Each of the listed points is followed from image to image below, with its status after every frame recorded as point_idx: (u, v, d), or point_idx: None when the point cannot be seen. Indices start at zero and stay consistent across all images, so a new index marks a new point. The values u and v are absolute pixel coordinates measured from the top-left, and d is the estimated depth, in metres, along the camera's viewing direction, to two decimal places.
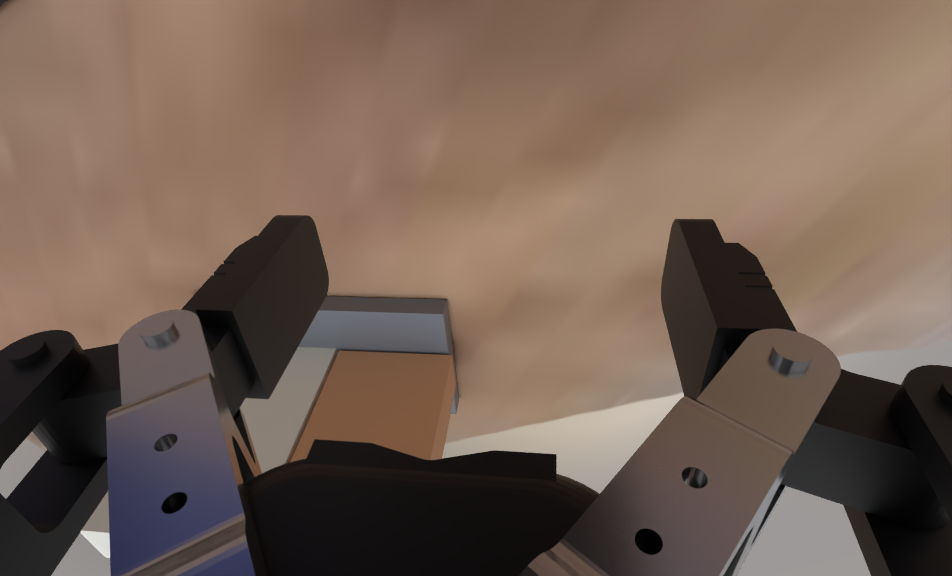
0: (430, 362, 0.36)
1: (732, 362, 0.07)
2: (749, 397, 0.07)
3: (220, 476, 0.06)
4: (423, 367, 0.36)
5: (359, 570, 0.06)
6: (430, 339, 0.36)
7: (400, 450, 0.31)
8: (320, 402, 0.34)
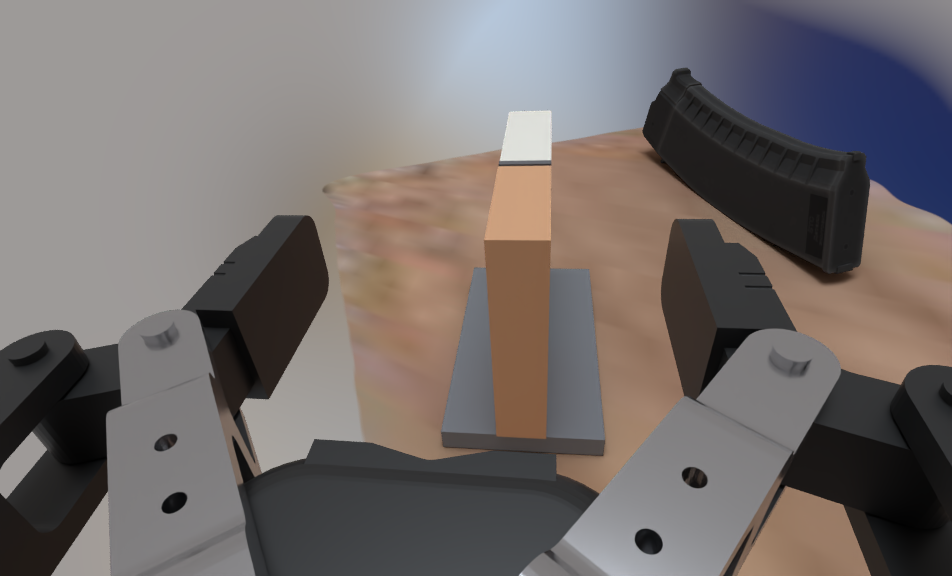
0: None
1: (732, 362, 0.07)
2: (749, 397, 0.07)
3: (220, 476, 0.06)
4: None
5: (358, 571, 0.06)
6: (565, 423, 0.34)
7: None
8: None
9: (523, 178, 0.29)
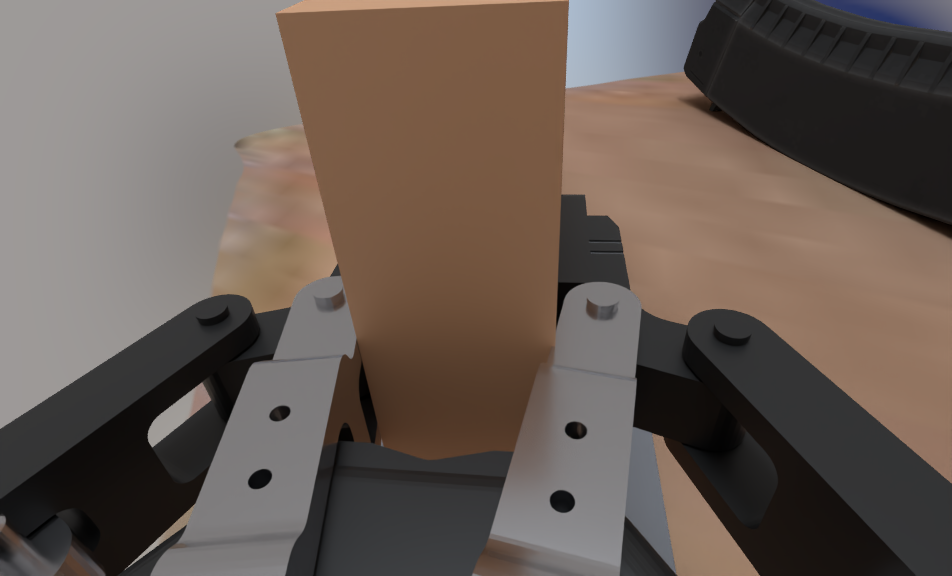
0: None
1: None
2: None
3: (305, 470, 0.06)
4: None
5: (359, 571, 0.06)
6: None
7: None
8: None
9: None
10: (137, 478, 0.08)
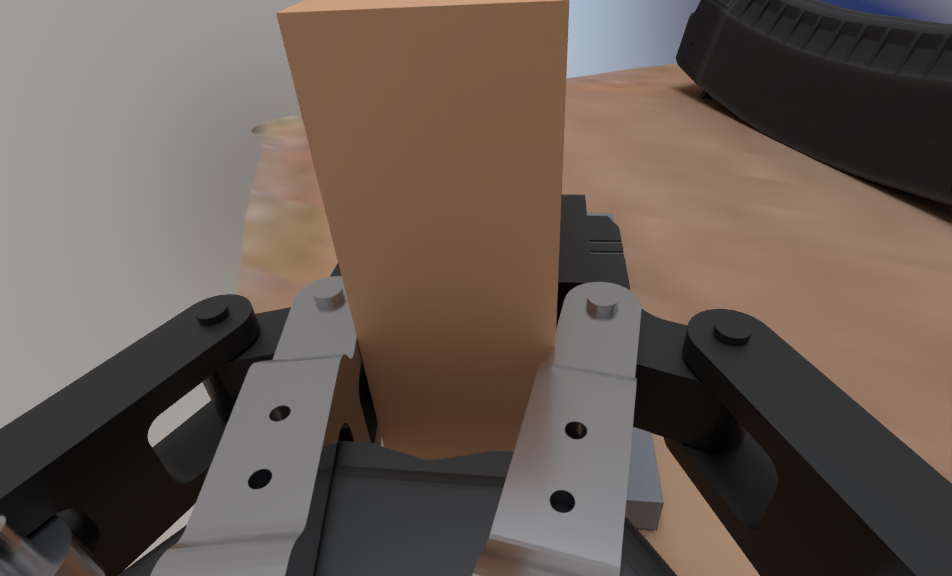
0: None
1: None
2: None
3: (305, 470, 0.06)
4: None
5: (359, 571, 0.06)
6: None
7: None
8: None
9: None
10: (137, 478, 0.08)
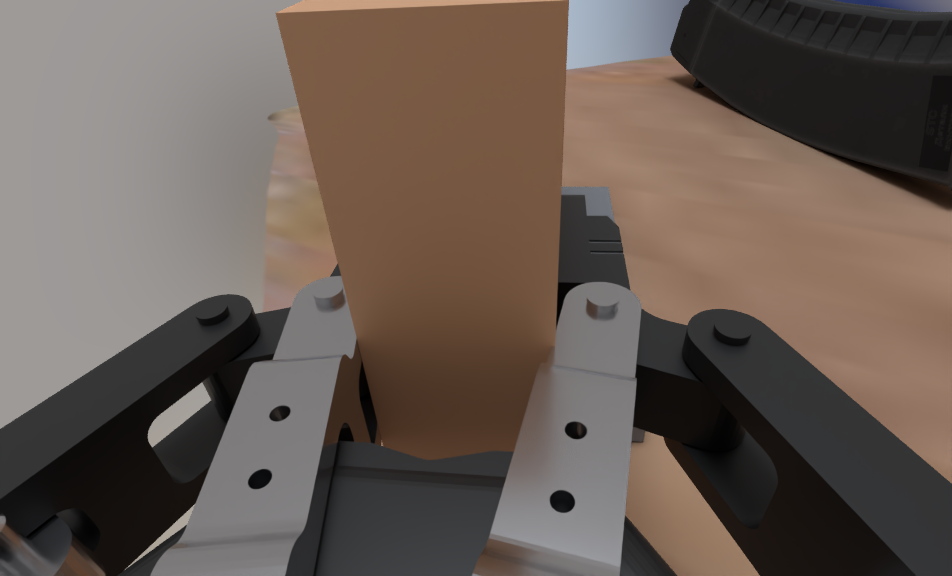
0: None
1: None
2: None
3: (305, 470, 0.06)
4: None
5: (360, 571, 0.06)
6: None
7: None
8: None
9: None
10: (137, 478, 0.08)
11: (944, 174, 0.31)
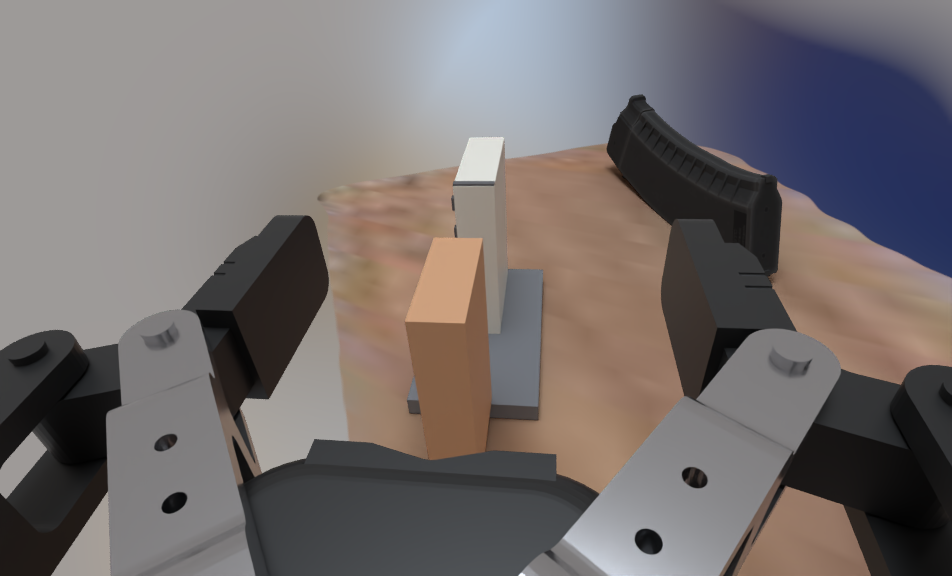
0: None
1: (732, 362, 0.07)
2: (749, 397, 0.07)
3: (220, 476, 0.06)
4: None
5: (360, 571, 0.06)
6: (508, 393, 0.41)
7: (476, 385, 0.32)
8: (488, 355, 0.38)
9: (454, 252, 0.32)
10: None
11: None
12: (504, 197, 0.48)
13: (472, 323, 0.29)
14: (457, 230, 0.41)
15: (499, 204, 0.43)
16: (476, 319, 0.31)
